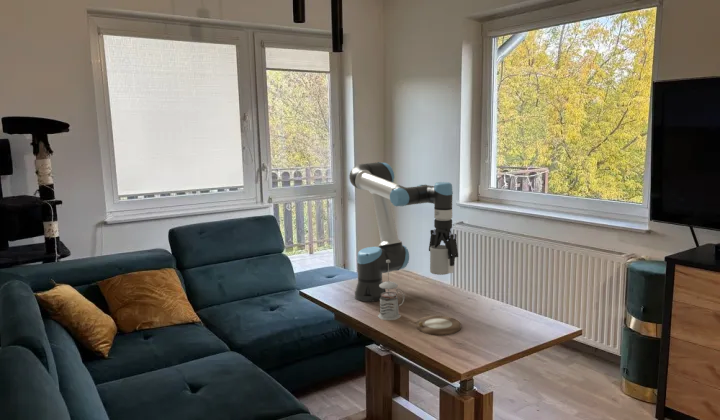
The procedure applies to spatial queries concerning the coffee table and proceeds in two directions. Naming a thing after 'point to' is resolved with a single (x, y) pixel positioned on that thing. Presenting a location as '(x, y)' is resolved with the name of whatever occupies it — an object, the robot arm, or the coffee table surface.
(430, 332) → the ring
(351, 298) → the coffee table surface
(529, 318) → the coffee table surface
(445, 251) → the mug
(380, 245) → the robot arm
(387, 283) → the french press
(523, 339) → the coffee table surface
